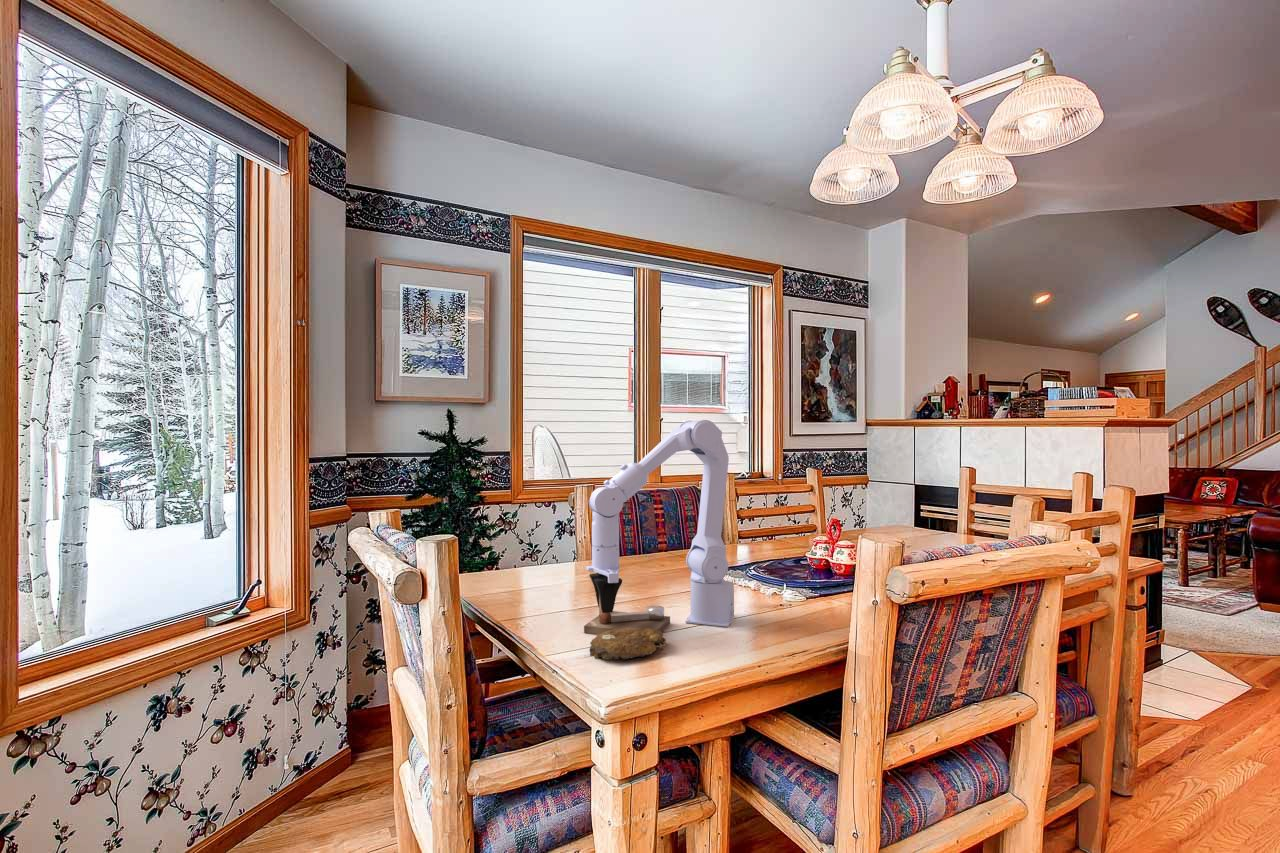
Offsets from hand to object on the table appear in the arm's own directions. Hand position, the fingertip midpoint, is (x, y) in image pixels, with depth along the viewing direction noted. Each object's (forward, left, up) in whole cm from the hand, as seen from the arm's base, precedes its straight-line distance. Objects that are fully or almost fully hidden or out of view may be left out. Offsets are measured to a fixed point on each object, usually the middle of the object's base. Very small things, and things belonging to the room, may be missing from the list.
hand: (605, 610), depth 129 cm
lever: (-5, -3, -2) cm, 6 cm away
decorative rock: (-9, +10, -5) cm, 14 cm away
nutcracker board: (-4, -3, -4) cm, 6 cm away
